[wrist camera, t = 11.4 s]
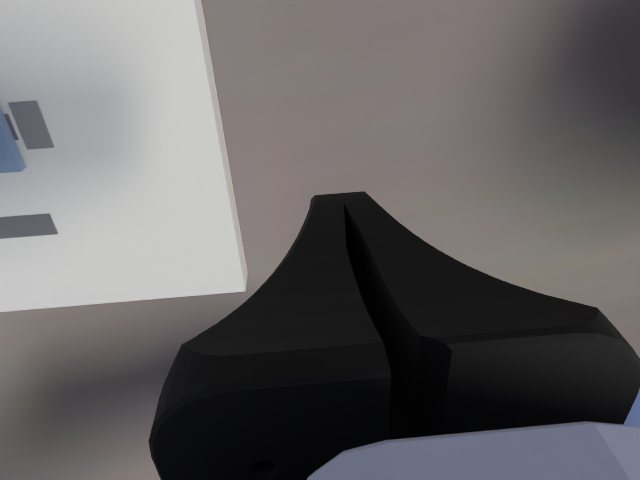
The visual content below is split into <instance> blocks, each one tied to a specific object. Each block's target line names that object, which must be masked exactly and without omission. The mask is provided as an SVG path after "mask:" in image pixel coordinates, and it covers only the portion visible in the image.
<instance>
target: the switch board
mask: <svg viewBox="0 0 640 480" xmlns="http://www.w3.org/2000/svg"><path fill="white" fill-rule="evenodd" d="M0 107H1V109H2V111H3V114H4V116H5V118H6V121H7V123H8V125H9V128H10V130H11V133H12V135H13V137H14V140H15V142H16V144H17V147H18V149H19V151H20V154H21V156H22V158H23V161H24V163H25V166H26V168H25V169H24V170H23V171H22V172H9V173H0V312H5V311H17V310H29V309H41V308H53V307H65V306H77V305H89V304H101V303H112V302H124V301H136V300H148V299H160V298H172V297H184V296H196V295H208V294H220V293H232V292H243V291H246V282H247V267H246V261H245V256H244V250H243V244H242V238H241V232H240V226H239V220H238V214H237V208H236V203H235V197H234V191H233V185H232V179H231V173H230V167H229V161H228V156H227V150H226V144H225V138H224V132H223V126H222V120H221V114H220V108H219V103H218V97H217V91H216V85H215V79H214V73H213V67H212V61H211V55H210V50H209V44H208V38H207V32H206V26H205V20H204V14H203V8H202V2H201V0H0Z"/></svg>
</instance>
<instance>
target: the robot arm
mask: <svg viewBox="0 0 640 480" xmlns="http://www.w3.org/2000/svg"><path fill="white" fill-rule="evenodd" d="M639 388H640V358H639V357H638V355H637V354H636V353H635V351H634V350H633V348H632V347H631V346H630V345H629V343H628V342H627V341H626V340H625V339H624V337H623V336H622V335H621V334H620V333H619V331H618V330H617V329H616V328H615V327H614V326H613V324H612V323H611V322H610V321H609V320H608V319H607V318H606V317H605V315H604V314H603V313H602V312H601V311H600V310H599V309H598V308H596V307H592V306H588V305H584V304H580V303H576V302H572V301H568V300H564V299H560V298H556V297H552V296H548V295H544V294H541V293H537V292H534V291H531V290H528V289H525V288H522V287H519V286H516V285H513V284H510V283H508V282H505V281H502V280H500V279H497V278H494V277H492V276H490V275H487V274H485V273H483V272H480V271H478V270H476V269H474V268H471V267H469V266H467V265H465V264H463V263H461V262H459V261H457V260H455V259H453V258H452V257H450V256H448V255H446V254H444V253H443V252H441V251H439V250H437V249H436V248H434V247H433V246H431V245H429V244H428V243H426V242H425V241H423V240H422V239H421V238H419V237H418V236H416V235H415V234H413V233H412V232H411V231H409V230H408V229H407V228H405V227H404V226H403V225H401V224H400V223H399V222H398V221H397V220H395V219H394V218H393V217H392V216H391V215H389V214H388V213H387V212H386V211H385V210H384V209H383V208H382V207H381V206H380V205H378V204H377V203H376V202H375V201H374V200H373V199H372V198H371V197H370V196H369V195H368V194H366V193H365V192H351V193H338V194H325V195H315V196H314V197H313V198H312V199H311V204H310V208H309V211H308V214H307V217H306V219H305V222H304V224H303V226H302V228H301V230H300V232H299V234H298V236H297V238H296V240H295V241H294V243H293V245H292V246H291V248H290V250H289V251H288V253H287V255H286V256H285V258H284V259H283V260H282V262H281V263H280V265H279V266H278V267H277V269H276V270H275V271H274V272H273V274H272V275H271V276H270V277H269V278H268V279H267V281H266V282H265V283H264V284H263V285H262V286H261V287H260V288H259V289H258V290H257V291H256V292H255V293H254V294H253V295H252V296H251V297H250V298H249V299H248V300H247V301H246V302H244V303H243V304H242V305H241V306H240V307H238V308H237V309H236V310H235V311H233V312H232V313H231V314H229V315H228V316H227V317H225V318H224V319H222V320H221V321H220V322H218V323H217V324H215V325H214V326H212V327H210V328H209V329H207V330H206V331H204V332H202V333H201V334H199V335H198V336H196V337H194V338H193V339H191V340H189V341H188V342H186V343H184V344H183V345H182V346H181V347H180V349H179V351H178V353H177V356H176V358H175V360H174V362H173V364H172V367H171V369H170V371H169V374H168V376H167V378H166V381H165V383H164V385H163V388H162V391H161V394H160V397H159V401H158V405H157V410H156V414H155V418H154V422H153V426H152V430H151V434H150V438H149V446H150V452H151V457H152V459H153V462H154V464H155V467H156V469H157V471H158V474H159V476H160V479H161V480H640V429H638V428H637V427H633V426H629V425H623V424H624V422H625V420H626V418H627V415H628V413H629V411H630V409H631V407H632V405H633V403H634V401H635V399H636V396H637V394H638V392H639Z"/></svg>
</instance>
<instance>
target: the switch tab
mask: <svg viewBox="0 0 640 480" xmlns="http://www.w3.org/2000/svg"><path fill="white" fill-rule="evenodd" d="M25 168H26V166H25V163H24V161H23V158H22V156H21V154H20V151H19V149H18V147H17V144H16V142H15V140H14V137H13V135H12V133H11V130H10V128H9V125H8V123H7V121H6V118H5V116H4V114H3V111H2V109H1V107H0V173H9V172H22V171H23V170H24V169H25Z"/></svg>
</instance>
